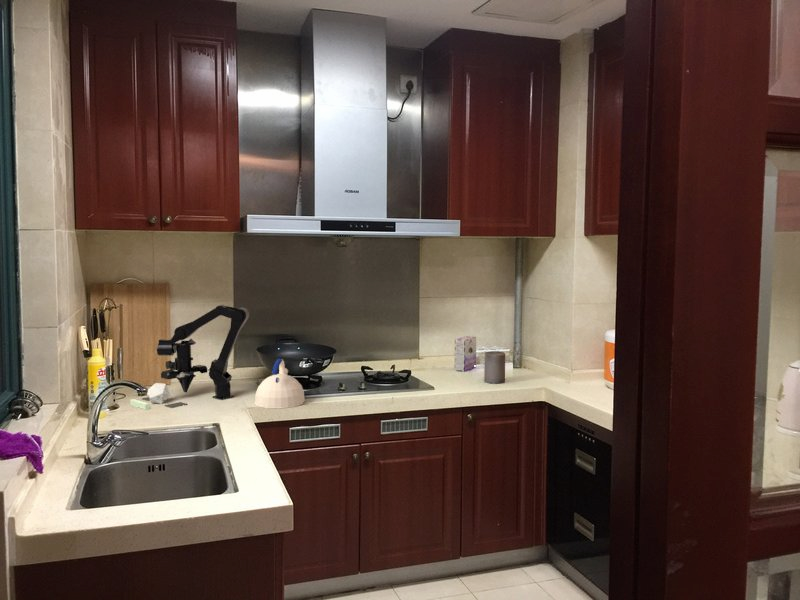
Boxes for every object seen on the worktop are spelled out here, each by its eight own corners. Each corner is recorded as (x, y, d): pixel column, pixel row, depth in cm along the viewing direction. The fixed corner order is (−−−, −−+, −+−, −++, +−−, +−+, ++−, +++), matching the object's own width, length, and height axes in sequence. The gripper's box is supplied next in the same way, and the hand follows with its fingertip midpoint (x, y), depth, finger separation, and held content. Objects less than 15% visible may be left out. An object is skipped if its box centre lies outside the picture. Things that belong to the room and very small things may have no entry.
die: (150, 407, 256) (165, 388, 257) (138, 395, 260) (152, 375, 260) (163, 410, 264) (178, 391, 264) (151, 398, 267) (165, 379, 268)
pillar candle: (501, 379, 307) (501, 348, 306) (507, 383, 298) (508, 351, 296) (481, 380, 306) (481, 348, 304) (487, 384, 296) (488, 352, 295)
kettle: (309, 396, 273) (308, 354, 271) (300, 409, 252) (299, 363, 251) (261, 396, 273) (260, 354, 272) (248, 409, 253) (247, 363, 251)
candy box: (466, 366, 340) (466, 335, 339) (476, 367, 337) (476, 336, 335) (454, 370, 328) (454, 338, 327) (464, 372, 325) (464, 339, 324)
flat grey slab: (187, 404, 259) (187, 399, 259) (152, 411, 248) (152, 406, 247) (157, 396, 274) (157, 391, 273) (123, 402, 262) (123, 397, 262)
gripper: (192, 350, 282) (194, 385, 283) (153, 356, 267) (154, 393, 269) (207, 353, 275) (208, 389, 276) (167, 359, 260) (169, 397, 261)
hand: (185, 392), depth 271 cm, fingers closed
